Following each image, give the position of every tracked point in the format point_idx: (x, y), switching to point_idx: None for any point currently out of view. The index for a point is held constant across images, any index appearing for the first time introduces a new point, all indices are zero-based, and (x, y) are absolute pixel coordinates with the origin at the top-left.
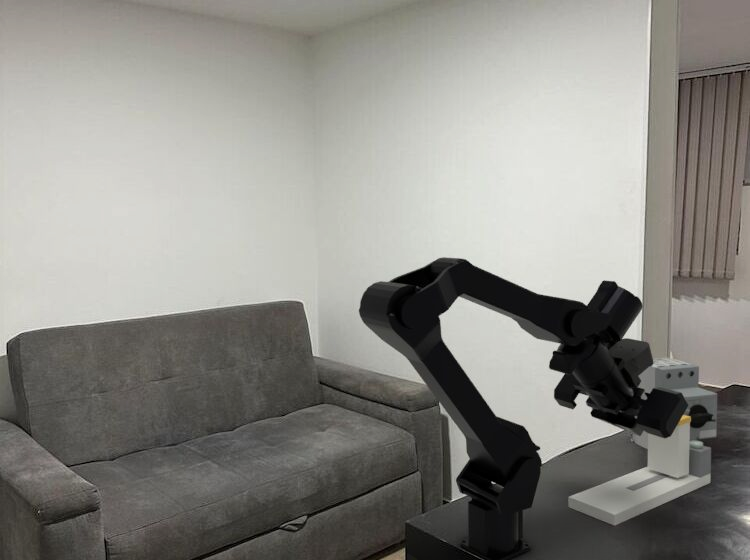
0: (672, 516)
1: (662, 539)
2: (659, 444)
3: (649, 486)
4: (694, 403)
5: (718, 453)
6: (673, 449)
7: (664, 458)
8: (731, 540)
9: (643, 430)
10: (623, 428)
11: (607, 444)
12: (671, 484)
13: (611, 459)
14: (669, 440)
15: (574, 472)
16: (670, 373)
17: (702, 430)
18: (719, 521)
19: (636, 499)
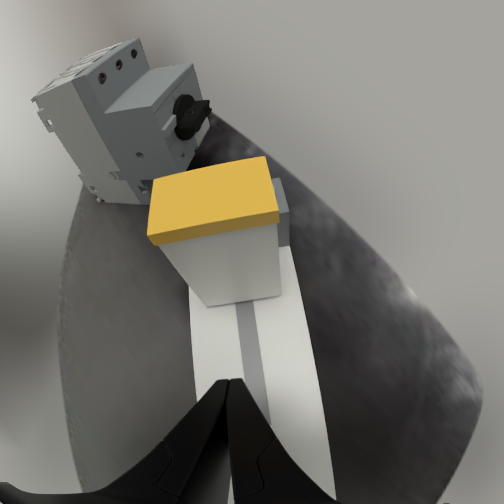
0: (365, 406)
1: (415, 478)
2: (220, 274)
3: (272, 375)
4: (174, 98)
5: (206, 141)
6: (264, 267)
7: (242, 286)
8: (463, 376)
9: (242, 379)
10: (228, 492)
11: (79, 239)
12: (288, 323)
13: (110, 284)
14: (249, 259)
15: (107, 394)
16: (103, 72)
17: (196, 132)
18: (414, 342)
19: (311, 453)
